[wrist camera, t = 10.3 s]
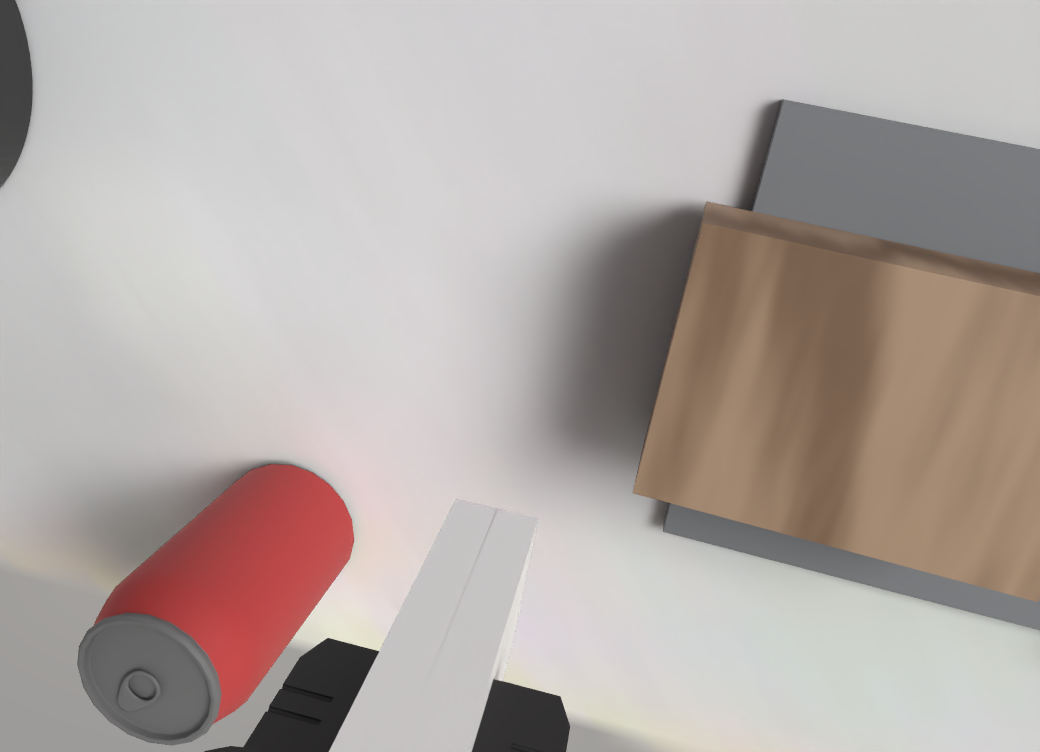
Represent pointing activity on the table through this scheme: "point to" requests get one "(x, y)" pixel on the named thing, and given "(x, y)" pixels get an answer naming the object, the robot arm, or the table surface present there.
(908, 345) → the walnut block
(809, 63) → the table surface
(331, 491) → the beer can
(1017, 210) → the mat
